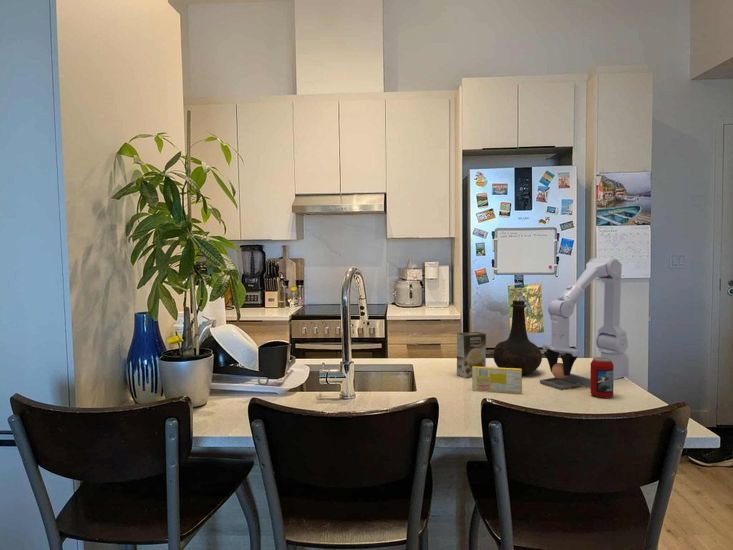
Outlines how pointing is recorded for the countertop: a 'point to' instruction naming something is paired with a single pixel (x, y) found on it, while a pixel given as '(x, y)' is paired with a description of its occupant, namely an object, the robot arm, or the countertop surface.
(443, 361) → the countertop surface
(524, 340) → the glass bottle
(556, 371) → the ball
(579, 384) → the charcoal dish
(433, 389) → the countertop surface
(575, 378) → the low fence
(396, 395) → the countertop surface
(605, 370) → the beverage can
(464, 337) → the coffee box
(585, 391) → the countertop surface
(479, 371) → the candy box
